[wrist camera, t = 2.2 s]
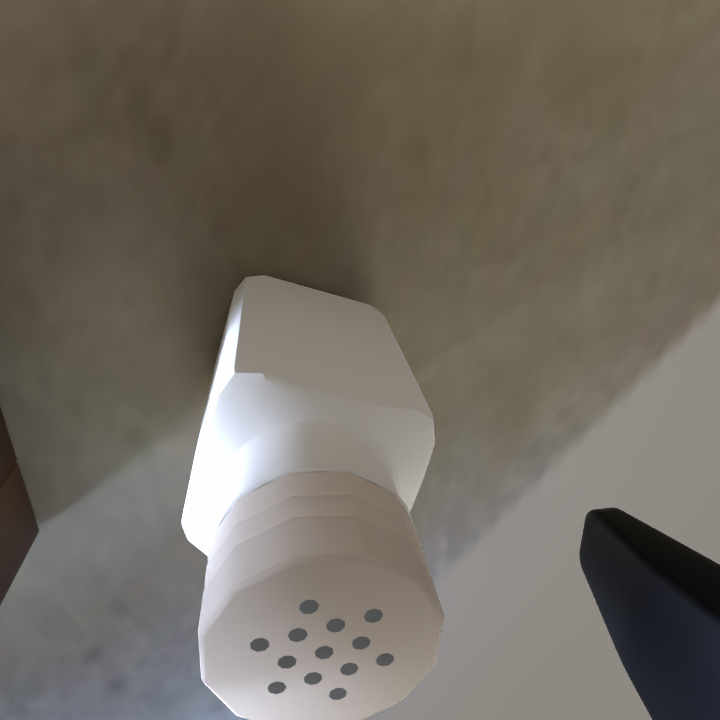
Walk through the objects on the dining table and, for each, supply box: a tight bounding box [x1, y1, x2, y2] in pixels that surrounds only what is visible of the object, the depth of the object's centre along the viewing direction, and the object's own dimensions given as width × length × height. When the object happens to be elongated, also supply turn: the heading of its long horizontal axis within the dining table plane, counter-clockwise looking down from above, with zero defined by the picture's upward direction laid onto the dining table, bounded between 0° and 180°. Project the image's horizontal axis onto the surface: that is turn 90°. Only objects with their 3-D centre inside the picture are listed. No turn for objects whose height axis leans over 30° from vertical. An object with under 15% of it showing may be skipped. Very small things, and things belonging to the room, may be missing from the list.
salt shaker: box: [181, 275, 444, 720], centre depth 12 cm, size 4×4×10 cm
